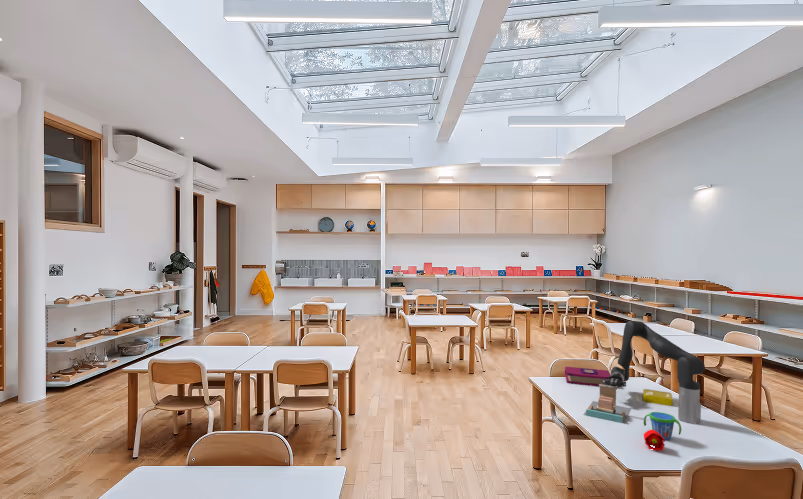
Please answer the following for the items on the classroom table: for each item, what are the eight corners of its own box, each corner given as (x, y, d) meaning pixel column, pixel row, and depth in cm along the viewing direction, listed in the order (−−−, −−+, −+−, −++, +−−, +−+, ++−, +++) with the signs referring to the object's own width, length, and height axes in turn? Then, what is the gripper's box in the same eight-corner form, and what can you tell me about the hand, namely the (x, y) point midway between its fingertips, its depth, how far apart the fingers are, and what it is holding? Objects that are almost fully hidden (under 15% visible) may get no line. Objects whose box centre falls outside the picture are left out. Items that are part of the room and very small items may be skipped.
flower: (664, 434, 202) (668, 440, 194) (656, 448, 203) (660, 455, 195) (647, 424, 204) (650, 430, 197) (638, 438, 205) (641, 445, 198)
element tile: (672, 407, 256) (672, 398, 256) (642, 402, 263) (643, 394, 263) (671, 399, 269) (671, 392, 269) (643, 395, 277) (643, 387, 277)
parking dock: (592, 401, 260) (593, 395, 260) (631, 409, 249) (631, 402, 249) (583, 415, 237) (583, 409, 237) (624, 424, 226) (625, 417, 226)
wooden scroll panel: (598, 409, 246) (599, 383, 246) (616, 413, 241) (617, 386, 241) (594, 415, 237) (595, 388, 237) (613, 419, 232) (614, 391, 232)
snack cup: (639, 434, 214) (640, 413, 214) (649, 429, 221) (649, 408, 221) (675, 445, 202) (676, 423, 202) (684, 440, 209) (684, 418, 209)
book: (564, 375, 317) (564, 365, 317) (607, 379, 309) (607, 368, 310) (566, 383, 297) (567, 372, 297) (612, 388, 289) (613, 376, 289)
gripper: (604, 371, 272) (599, 377, 257) (628, 374, 265) (625, 381, 250) (604, 383, 272) (599, 390, 257) (628, 387, 264) (625, 394, 250)
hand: (612, 385), depth 254 cm, fingers closed
